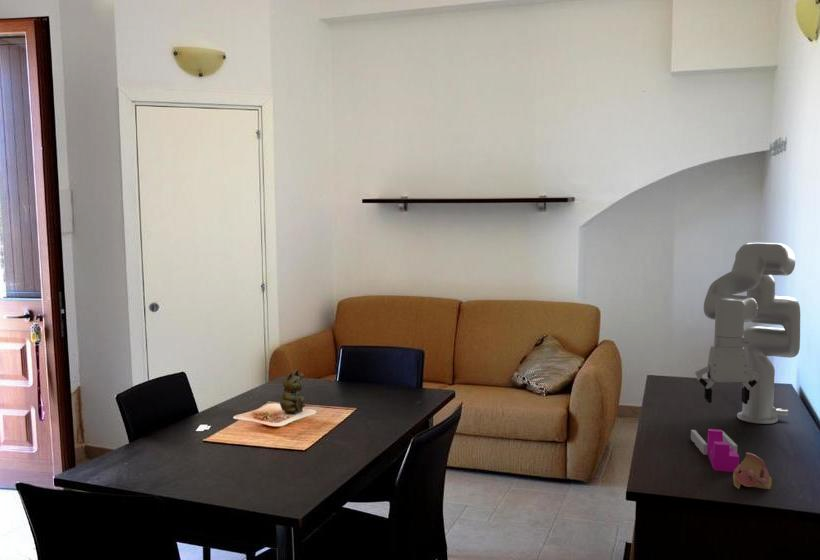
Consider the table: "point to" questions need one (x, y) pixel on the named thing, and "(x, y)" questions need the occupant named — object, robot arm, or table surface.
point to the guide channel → (704, 446)
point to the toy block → (721, 452)
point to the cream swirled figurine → (752, 473)
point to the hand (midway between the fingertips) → (726, 402)
